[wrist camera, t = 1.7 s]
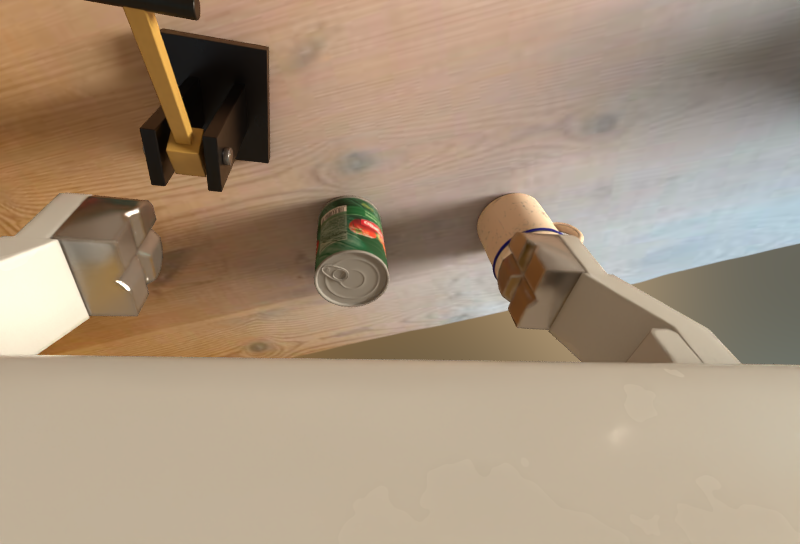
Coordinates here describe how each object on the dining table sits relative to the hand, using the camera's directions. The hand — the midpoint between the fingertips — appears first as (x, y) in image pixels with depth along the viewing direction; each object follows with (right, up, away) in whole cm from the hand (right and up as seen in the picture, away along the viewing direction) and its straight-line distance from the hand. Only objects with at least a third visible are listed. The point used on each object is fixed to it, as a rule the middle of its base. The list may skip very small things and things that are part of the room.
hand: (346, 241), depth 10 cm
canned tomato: (-5, +6, +42) cm, 43 cm away
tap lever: (-14, +12, +17) cm, 25 cm away
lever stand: (-16, +16, +31) cm, 39 cm away
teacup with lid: (+17, +6, +45) cm, 48 cm away
